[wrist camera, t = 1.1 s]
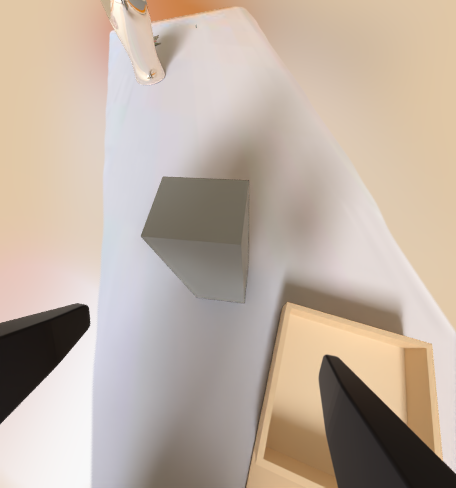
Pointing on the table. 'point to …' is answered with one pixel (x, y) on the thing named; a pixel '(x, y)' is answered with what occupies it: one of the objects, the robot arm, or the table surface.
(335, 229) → the table surface
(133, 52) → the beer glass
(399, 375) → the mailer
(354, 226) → the table surface
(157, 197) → the slate block
